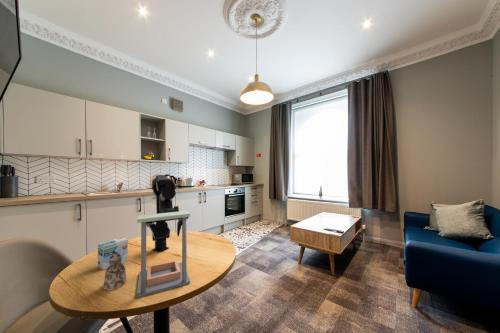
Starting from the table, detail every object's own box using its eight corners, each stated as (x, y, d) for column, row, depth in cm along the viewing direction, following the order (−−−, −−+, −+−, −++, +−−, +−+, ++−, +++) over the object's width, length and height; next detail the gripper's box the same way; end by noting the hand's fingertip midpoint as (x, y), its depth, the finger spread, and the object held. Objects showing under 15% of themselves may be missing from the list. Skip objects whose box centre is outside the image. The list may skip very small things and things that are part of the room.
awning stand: (139, 274, 81) (140, 210, 82) (183, 264, 89) (183, 206, 90) (136, 298, 65) (137, 219, 66) (190, 283, 73) (190, 213, 74)
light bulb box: (102, 270, 84) (103, 246, 85) (96, 266, 88) (97, 243, 88) (128, 260, 94) (128, 239, 94) (121, 257, 97) (122, 236, 98)
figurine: (100, 292, 69) (101, 259, 69) (106, 282, 75) (107, 251, 75) (124, 287, 71) (124, 255, 72) (127, 278, 78) (128, 248, 78)
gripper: (144, 202, 78) (144, 241, 73) (189, 198, 88) (192, 233, 83) (143, 207, 87) (143, 243, 82) (184, 203, 97) (187, 235, 92)
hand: (167, 238), depth 85 cm, fingers open, 9 cm apart
